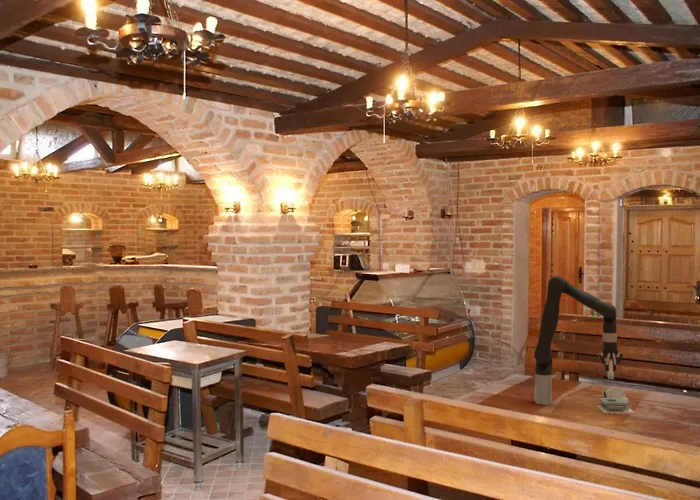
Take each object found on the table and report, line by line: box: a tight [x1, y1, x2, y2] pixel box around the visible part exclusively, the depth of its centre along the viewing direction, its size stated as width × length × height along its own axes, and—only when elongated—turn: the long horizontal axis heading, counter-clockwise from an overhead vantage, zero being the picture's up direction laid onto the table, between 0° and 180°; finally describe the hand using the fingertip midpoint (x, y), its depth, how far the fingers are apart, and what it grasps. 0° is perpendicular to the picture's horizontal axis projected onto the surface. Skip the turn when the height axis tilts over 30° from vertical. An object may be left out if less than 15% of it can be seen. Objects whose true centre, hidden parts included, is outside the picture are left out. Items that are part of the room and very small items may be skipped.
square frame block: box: [596, 397, 635, 415], centre depth 355 cm, size 16×13×5 cm
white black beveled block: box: [601, 386, 630, 403], centre depth 373 cm, size 17×5×10 cm, turn 122°
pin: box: [607, 359, 615, 380], centre depth 356 cm, size 3×3×11 cm
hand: (610, 371), depth 356 cm, fingers closed on pin, 3 cm apart
